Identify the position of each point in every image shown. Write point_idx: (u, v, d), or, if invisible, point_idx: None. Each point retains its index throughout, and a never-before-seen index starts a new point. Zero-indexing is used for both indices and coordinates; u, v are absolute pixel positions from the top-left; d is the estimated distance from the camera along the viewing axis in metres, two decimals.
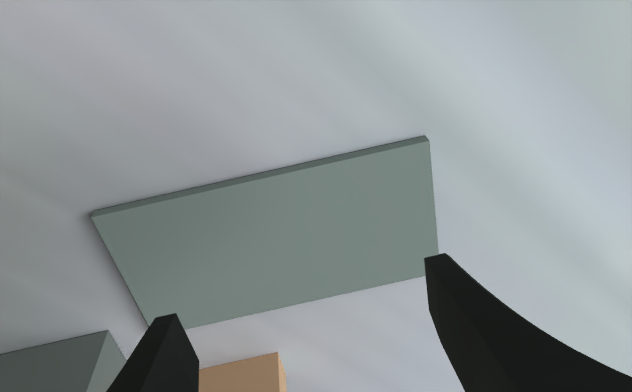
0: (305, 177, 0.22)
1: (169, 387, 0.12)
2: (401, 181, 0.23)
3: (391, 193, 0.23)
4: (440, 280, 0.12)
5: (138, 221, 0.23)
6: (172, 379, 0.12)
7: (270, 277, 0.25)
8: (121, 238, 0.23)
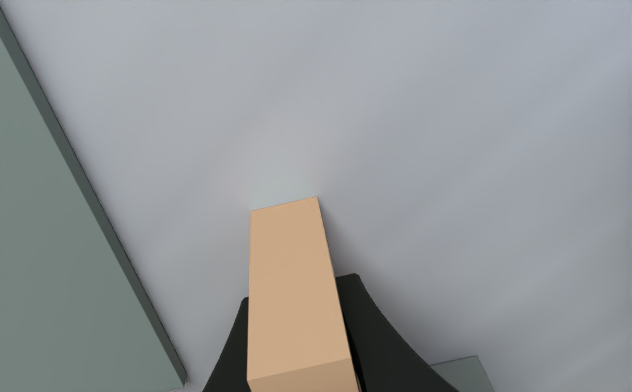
0: None
1: None
2: None
3: None
4: (340, 302, 0.12)
5: None
6: None
7: (18, 240, 0.13)
8: None
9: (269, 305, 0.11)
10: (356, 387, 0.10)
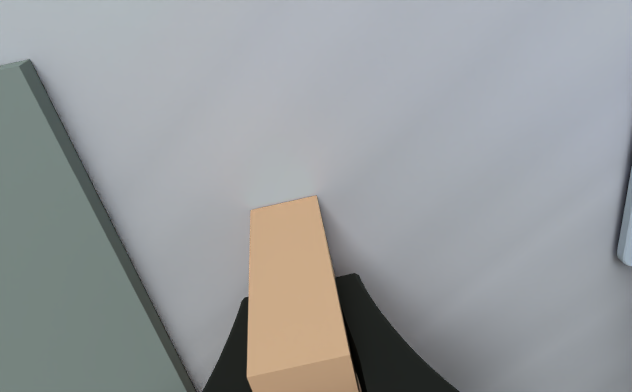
0: None
1: None
2: None
3: None
4: (340, 302, 0.12)
5: None
6: None
7: (90, 349, 0.16)
8: None
9: (269, 302, 0.11)
10: (355, 384, 0.10)
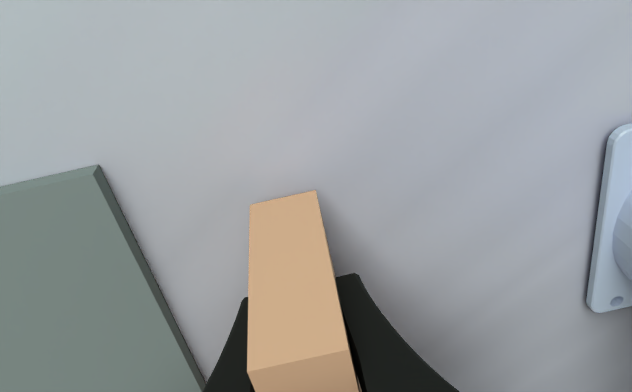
0: None
1: None
2: None
3: None
4: (340, 302, 0.12)
5: None
6: None
7: (136, 388, 0.18)
8: None
9: (269, 297, 0.11)
10: (354, 378, 0.10)
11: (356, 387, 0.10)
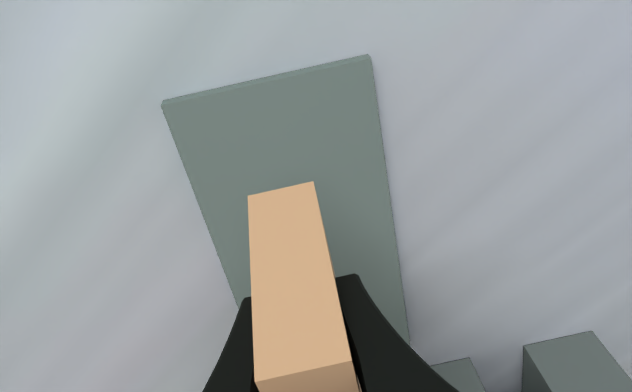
0: (219, 230, 0.21)
1: None
2: (219, 131, 0.19)
3: (237, 141, 0.19)
4: (340, 302, 0.12)
5: None
6: None
7: (349, 256, 0.23)
8: None
9: (272, 302, 0.11)
10: (356, 383, 0.10)
11: (357, 389, 0.10)
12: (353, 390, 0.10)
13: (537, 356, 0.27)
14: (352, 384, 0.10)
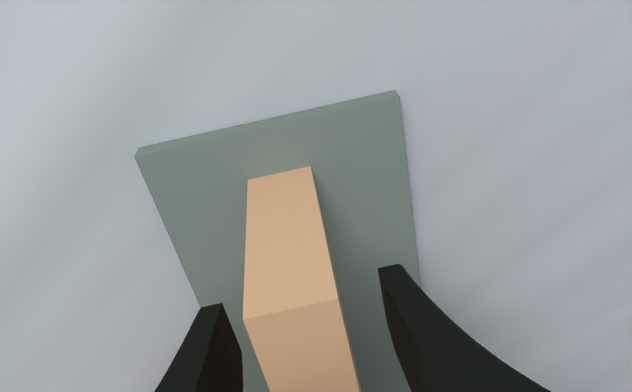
0: (210, 299, 0.17)
1: (220, 375, 0.12)
2: (209, 186, 0.15)
3: (231, 197, 0.15)
4: (388, 291, 0.12)
5: None
6: (222, 368, 0.12)
7: (367, 325, 0.19)
8: None
9: (264, 257, 0.11)
10: (344, 328, 0.10)
11: (345, 338, 0.10)
12: (342, 338, 0.10)
13: None
14: (340, 330, 0.10)
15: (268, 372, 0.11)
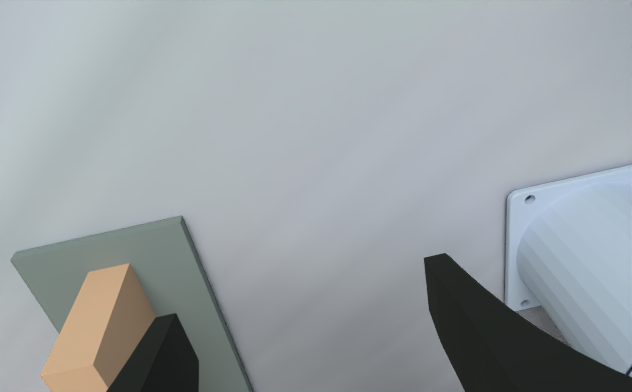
0: None
1: (169, 386, 0.12)
2: (62, 276, 0.23)
3: (79, 282, 0.23)
4: (440, 280, 0.12)
5: None
6: (172, 379, 0.12)
7: None
8: None
9: (69, 334, 0.19)
10: (101, 379, 0.18)
11: (105, 384, 0.18)
12: (102, 385, 0.18)
13: None
14: (100, 380, 0.18)
15: None
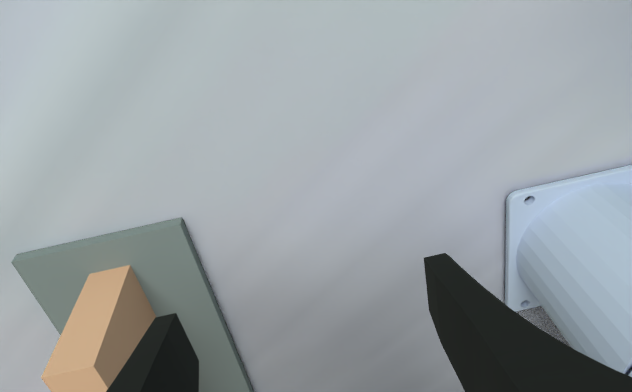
0: None
1: (169, 387, 0.12)
2: (63, 277, 0.23)
3: (80, 284, 0.23)
4: (440, 280, 0.12)
5: None
6: (172, 379, 0.12)
7: None
8: None
9: (70, 336, 0.20)
10: (102, 381, 0.18)
11: (105, 386, 0.19)
12: (103, 386, 0.19)
13: None
14: (101, 382, 0.18)
15: None
